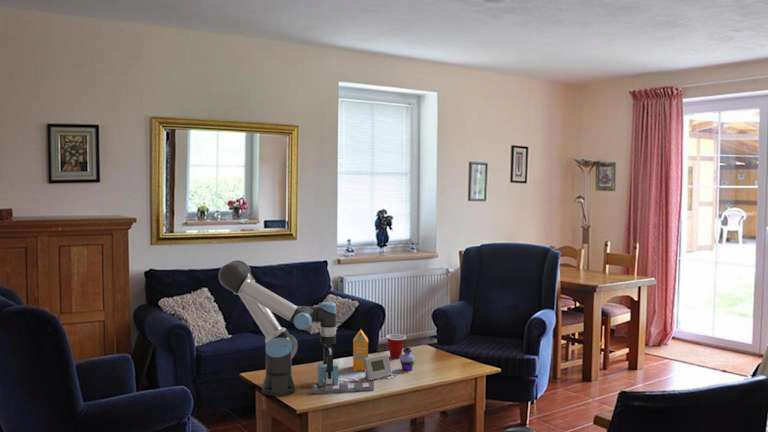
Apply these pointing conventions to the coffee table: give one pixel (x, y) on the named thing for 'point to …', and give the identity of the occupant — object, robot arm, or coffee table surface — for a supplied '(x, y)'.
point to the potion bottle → (407, 359)
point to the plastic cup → (395, 345)
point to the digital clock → (377, 366)
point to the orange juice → (360, 350)
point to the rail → (343, 388)
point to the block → (322, 374)
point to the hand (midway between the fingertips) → (327, 382)
